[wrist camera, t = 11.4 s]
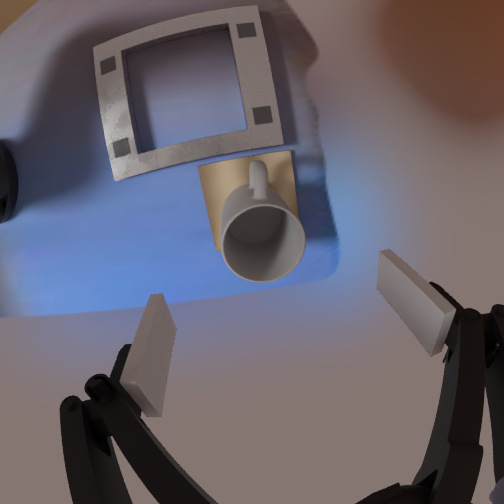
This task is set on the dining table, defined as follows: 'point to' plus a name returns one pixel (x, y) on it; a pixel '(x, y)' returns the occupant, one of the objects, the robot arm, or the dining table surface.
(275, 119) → the grey square frame
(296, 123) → the dining table surface
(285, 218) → the mug
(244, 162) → the coaster
